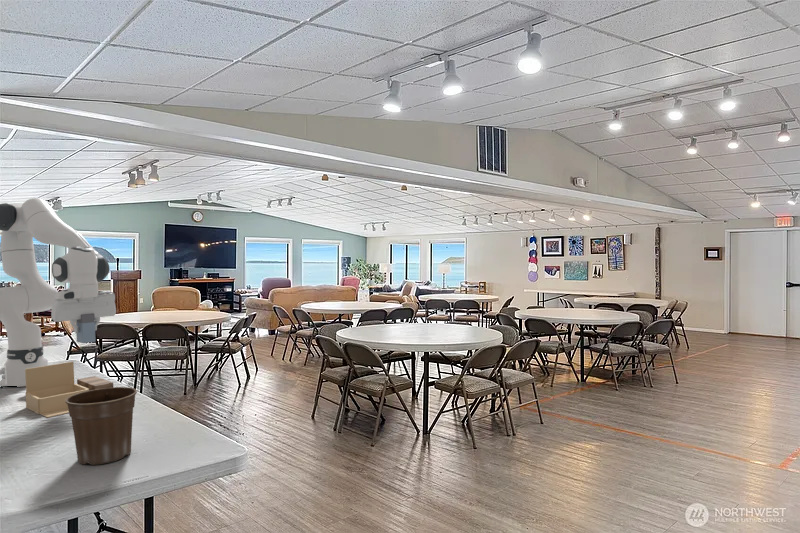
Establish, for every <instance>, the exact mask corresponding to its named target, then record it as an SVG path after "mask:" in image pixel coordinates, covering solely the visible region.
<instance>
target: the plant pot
mask: <svg viewBox="0 0 800 533" xmlns="http://www.w3.org/2000/svg"><path fill="white" fill-rule="evenodd" d="M137 393H138V390H137V389H136V388H134V387H130V386H129V387H127V386H119V387H118V386H116V387H114V386H113V387H112V388H102V389H95V390H90V391H85V392H81V393H77V394H74V395H72V396H70V397H68V398H66V399H65V403H66V404H67V405H68V410H69V413H68V416H69V417H70V418H71V424H72V430H73V431H72V432H73V436H74V443H75V450H76V455H77V456H76V457H77V462H78V463H79V464H80V465H81V464H82V465H87V464H90V465H91V466H95V465H104V464H110V463H113V462H116V461H119V460H122V459H124V457H126V456H129V455H130V454H131V452H132V439H133V438H132V437H133V436H132V434H133V416H134V415H133V414H134V408H135V403H136V402H135V401H136V395H137Z"/></svg>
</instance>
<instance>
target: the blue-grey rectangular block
mask: <svg viewBox="0 0 800 533" xmlns="http://www.w3.org/2000/svg"><path fill="white" fill-rule="evenodd" d="M75 324H76V326H77V327H80V332H79V333H75V334H76V335H75V336H76V343H81V344H87V343H89V344H90V343H95V342H96V330H95V315H94V313H91V314H81V319H79V320H77V323H75Z"/></svg>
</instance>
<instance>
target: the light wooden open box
mask: <svg viewBox="0 0 800 533" xmlns="http://www.w3.org/2000/svg"><path fill="white" fill-rule="evenodd" d="M74 365H75V364H74V361H68V362H67V361H66V362H61V363H60V362H59V363H56V364H48V366H42V367H35V368H29V369H25V378H26V386H25V409H28V410H30V411H32V412H33V413H36V414H37V415H41V416H43V417H45V418H47V419H48V418H53V417H56V416H61V415H67V414H69V410H68V405H67V404H66V403H65V399H66V398H68V397H70V396H72V395H74V394H77V393H81V392H85V391H89V389H88V388H86V387H83V386H81V385H78V384H77V383H75V372H74V371H75V366H74Z"/></svg>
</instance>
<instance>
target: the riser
mask: <svg viewBox="0 0 800 533" xmlns="http://www.w3.org/2000/svg"><path fill="white" fill-rule="evenodd" d="M76 384H78V385H81V386H83V387H86V388H88V389H89V391H90V390H95V389H102V388H112V387H114V382H113V381H110V380H106V379H104V378H100V377H99V376H96V375H94V376H93V375H92V376H88V377H84V378H83V377H82V378H77V380H76Z"/></svg>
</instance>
